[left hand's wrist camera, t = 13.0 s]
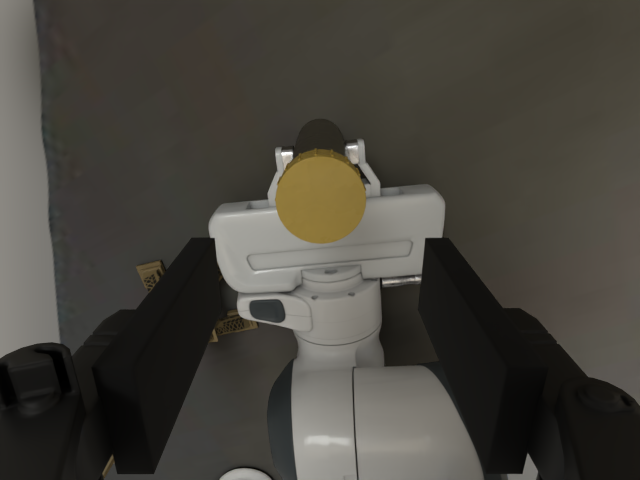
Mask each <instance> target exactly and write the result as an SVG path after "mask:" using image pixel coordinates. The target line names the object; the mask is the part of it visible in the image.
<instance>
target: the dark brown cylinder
mask: <svg viewBox="0 0 640 480" xmlns="http://www.w3.org/2000/svg"><path fill="white" fill-rule="evenodd" d="M315 148H317V149H325V150H331V149H332V150H333V151H334V152H337V153H339V154H341V155H343V156H344V157H346V156H347V157H348V160H350V162H351V159H350V157H349V154H348V151H347V148H346V145H345V143H344V140H343V137H342V134H341V132H340V130H339V128H338V127H337V126H336V125H335V124H334V123H332V122H331V121H328V120H325V119H316V120H312V121H310V122H308V123H307V124H306V125H305V126H304V127H303V128H302V129H301V131H300V133H299V136H298V139H297V142H296V145H295V147H294V150H293V153H292V156H291V159H290V162H291V161H292V160H293V159H294V158H296V157H297V156H299V153H301V154H302V153H305V152H307V151H311V150H315ZM290 162H289V163H290ZM351 163H352V162H351Z"/></svg>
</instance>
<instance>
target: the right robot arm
mask: <svg viewBox="0 0 640 480" xmlns="http://www.w3.org/2000/svg"><path fill="white" fill-rule="evenodd" d="M345 145H346V148H347V151H348V154H349V157H350V159H351V162H352V164H358V166H359V167H360V168H361V170H362V171H363V173H364V174H365V176H366V177H367V178H363V179H362V182H363V183H364V185H365V188H366V191H365V193H366V207H365V212H364V215H363V217H362V219H361V221H360V223H359V224H358V226H357V227H356V228H355V229H354V230H353V231H352V232H351V233H350V234H349V235H347V236H346V237H344V238H342V239H340V240H338V241H335V242H331V243H325V244H316V243H310V242H306V241H304V240H301V239H299V238H298V237H296V236H294V235H293V234H292V233H290V232H289V231H288V230H287V229H286V227H285V226H284V225H283V223H282V222H281V220H280V218H279V216H278V213H277V210H276V201H275V198H276V191H277V187H278V185H277V182H278V180H279V177H281V176H282V174H283V172H284V170H285V168H286V165H287V163H289V162H290V159H291V156H292V153H293V150H294V146H285V147H276V149H275V156H276V163H277V172H276V174H275V176H274V179H273V181H272V184H271V186H270V189H269V191H268V199H266V200H255V201H245V202H235V203H225V204H222V205H220V206H219V207H218V209H217V210H216V211H215V212H214V214H213V215H212V217H211V219H210V221H209V234H210V238H215V245H216V255H217V262H218V265H219V267H220V270H221V273H222V275H223V277H224V279H225V281H226V282H227V283H228V285H229V286H230V287H231V288H233V289H234V290H236V291H238V292H239V293H238V298H237V310H238V313H239V315H240V316H241V317H242V318H244V319H247V320H252V321H258V322H263V323H268V324H273V325H278V326H282V327H286V328H290V329H292V330H293V332H294V335H295V337H296V339H297V342H298V352H297V358H296V359H292V360H291V361H290V362H289V363H288V365H287V366H286V367H285V368H284V370H283V371H282V373H281V374H280V376H279V377H278V378H277V380H276V381H275V383H274V385H273V387H272V389H271V392H270V396H269V401H268V411H267V420H268V432H269V440H270V447H271V453H272V458H273V463H274V466H275V468H276V469H277V471H278V473H279V474H280V476H281V477H282V479H283V480H536V477H537V474H538V470H537V468H536V467H535V465H534V463H533V461H532V459H531V458H530V456H529V454H527V458H526V462H525V466H524V470H523V474H486V472H485V470H484V467H483V465H482V463H481V460H480V458H479V455H478V453H477V450H476V448H475V446H474V443H473V441H472V438H471V436H470V434H469V431H468V429H467V426H466V424H465V421H464V419H463V417H462V414H461V412H460V409H459V407H458V405H457V402H456V400H455V397H454V395H453V393H452V390H451V388H450V385H449V383H448V380H447V378H446V376H445V373H444V371H443V368H442V366H441V364H440V361H437V362H429V363H422V364H417V365H415V366H390V367H384V352H383V348H382V345H381V343H380V341H379V332H380V329H381V325H382V309H381V291H380V289H381V288H386V287H397V286H402V285H406V284H414V285H419V284H421V275H422V265H423V255H424V245H425V238H442V235H443V228H444V219H445V201H444V199H443V197H442V196H441V195H440V193H439V192H438V191H437V190H435V189H434V188H433V187H432V186H430V185H429V184H420V185H410V186H399V187H389V188H380V182H379V180H378V178H377V176H376V175H375V173H374V172H373V170H372V169H371V167H370V166H369V164H368V163H367V161H366V160H365V146H364V140H363V139H354V140H346V141H345Z"/></svg>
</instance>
